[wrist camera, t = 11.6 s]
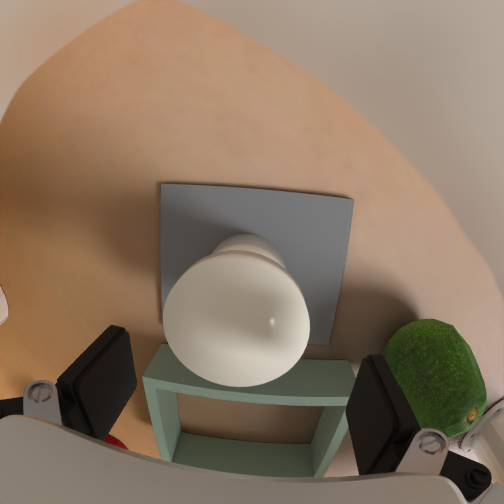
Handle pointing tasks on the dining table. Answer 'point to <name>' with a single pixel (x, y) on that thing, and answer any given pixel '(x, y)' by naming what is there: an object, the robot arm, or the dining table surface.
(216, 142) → the dining table surface
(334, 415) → the green open box
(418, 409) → the avocado
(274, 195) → the mat
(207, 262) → the white mushroom shaped cylinder
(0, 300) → the white cup
